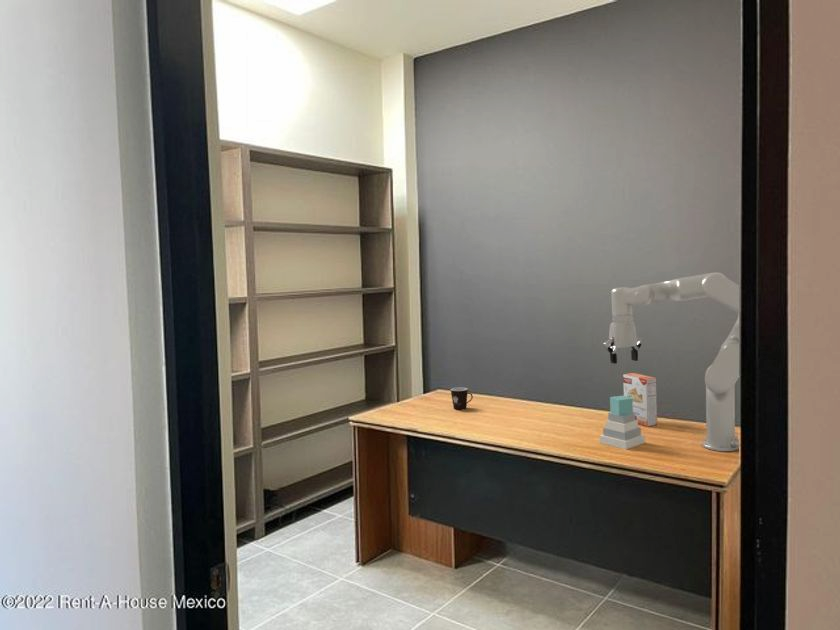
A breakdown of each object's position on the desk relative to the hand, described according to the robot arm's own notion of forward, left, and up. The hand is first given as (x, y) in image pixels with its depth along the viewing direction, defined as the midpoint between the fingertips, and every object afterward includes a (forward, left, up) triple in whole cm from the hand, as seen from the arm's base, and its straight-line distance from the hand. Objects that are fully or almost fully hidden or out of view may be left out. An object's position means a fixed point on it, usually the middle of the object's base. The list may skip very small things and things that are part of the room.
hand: (624, 361), depth 238 cm
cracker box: (+10, -23, -32) cm, 40 cm away
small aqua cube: (-2, +6, -19) cm, 20 cm away
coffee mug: (+87, +15, -32) cm, 94 cm away
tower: (-2, +6, -31) cm, 32 cm away
